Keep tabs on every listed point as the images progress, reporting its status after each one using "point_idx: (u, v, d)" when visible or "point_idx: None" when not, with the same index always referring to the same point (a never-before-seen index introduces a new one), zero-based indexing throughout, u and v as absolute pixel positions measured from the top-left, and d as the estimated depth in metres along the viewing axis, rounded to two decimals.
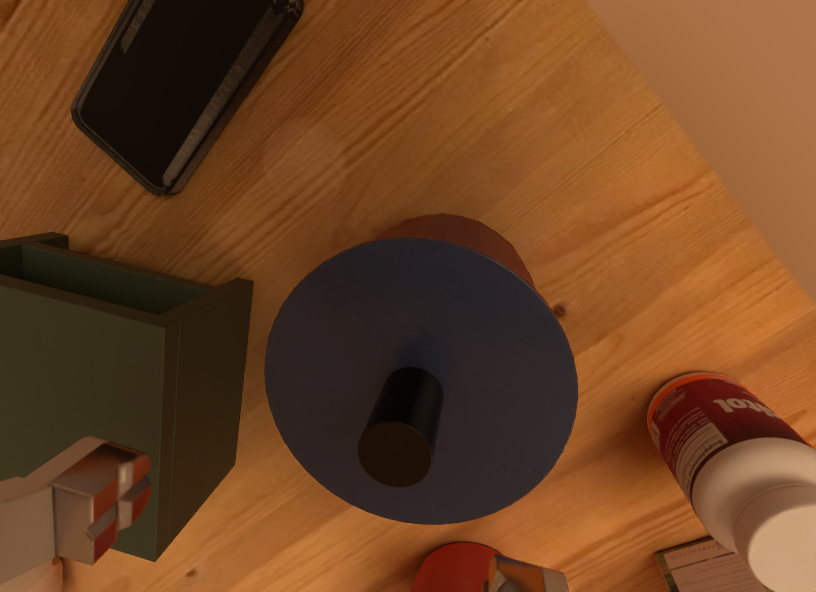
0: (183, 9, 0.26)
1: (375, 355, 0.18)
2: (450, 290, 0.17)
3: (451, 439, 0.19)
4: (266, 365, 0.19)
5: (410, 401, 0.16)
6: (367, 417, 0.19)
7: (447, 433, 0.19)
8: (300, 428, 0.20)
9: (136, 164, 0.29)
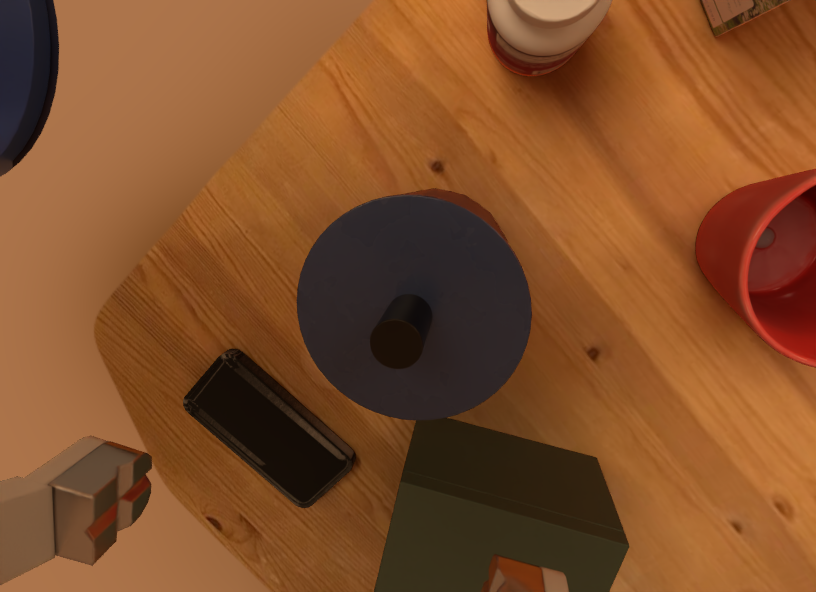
0: (239, 422, 0.41)
1: None
2: (329, 287, 0.25)
3: (446, 288, 0.24)
4: (395, 416, 0.26)
5: None
6: (431, 350, 0.25)
7: (440, 291, 0.24)
8: (445, 400, 0.26)
9: (332, 474, 0.41)
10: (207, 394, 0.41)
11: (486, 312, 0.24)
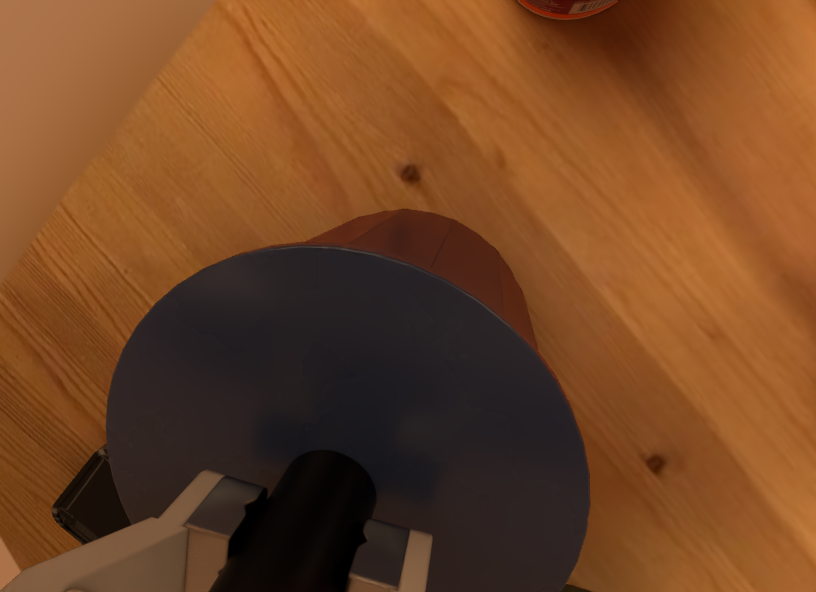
0: None
1: None
2: (165, 427, 0.12)
3: (403, 443, 0.11)
4: None
5: None
6: None
7: (392, 448, 0.11)
8: None
9: None
10: (85, 502, 0.28)
11: (490, 494, 0.11)
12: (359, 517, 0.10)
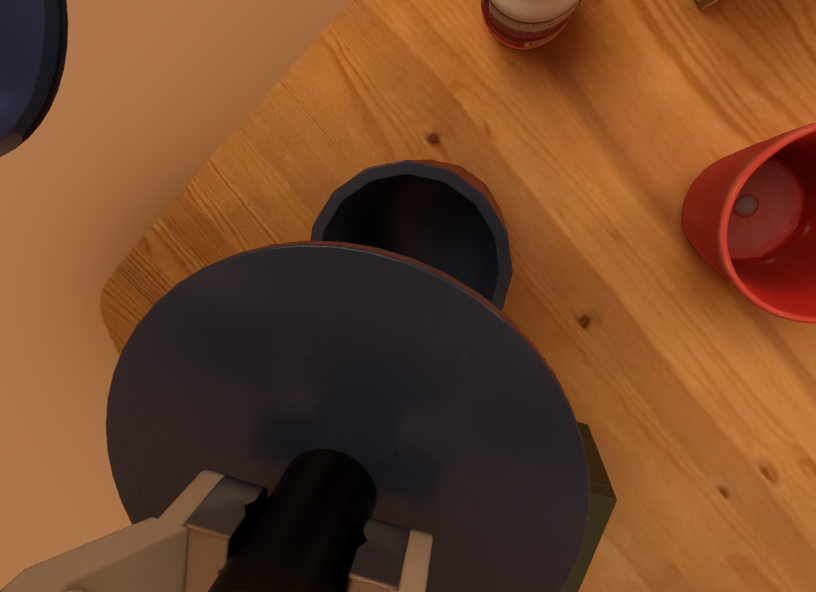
0: None
1: None
2: (165, 426, 0.12)
3: (403, 442, 0.11)
4: None
5: None
6: None
7: (392, 447, 0.11)
8: None
9: None
10: None
11: (490, 493, 0.11)
12: (359, 516, 0.10)
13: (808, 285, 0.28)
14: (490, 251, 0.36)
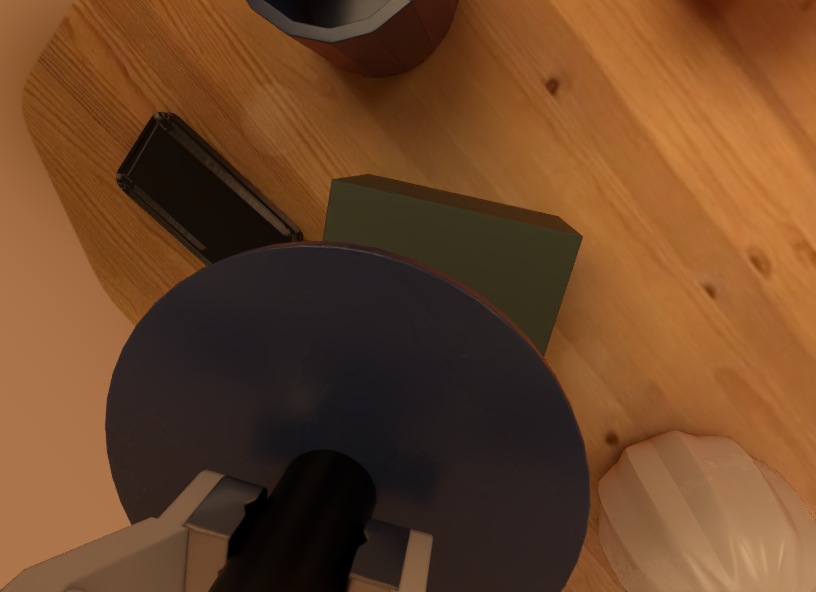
0: (176, 198, 0.38)
1: None
2: (164, 427, 0.12)
3: (403, 443, 0.11)
4: None
5: None
6: None
7: (392, 448, 0.11)
8: None
9: None
10: (142, 166, 0.38)
11: (491, 494, 0.11)
12: (359, 517, 0.10)
13: None
14: None
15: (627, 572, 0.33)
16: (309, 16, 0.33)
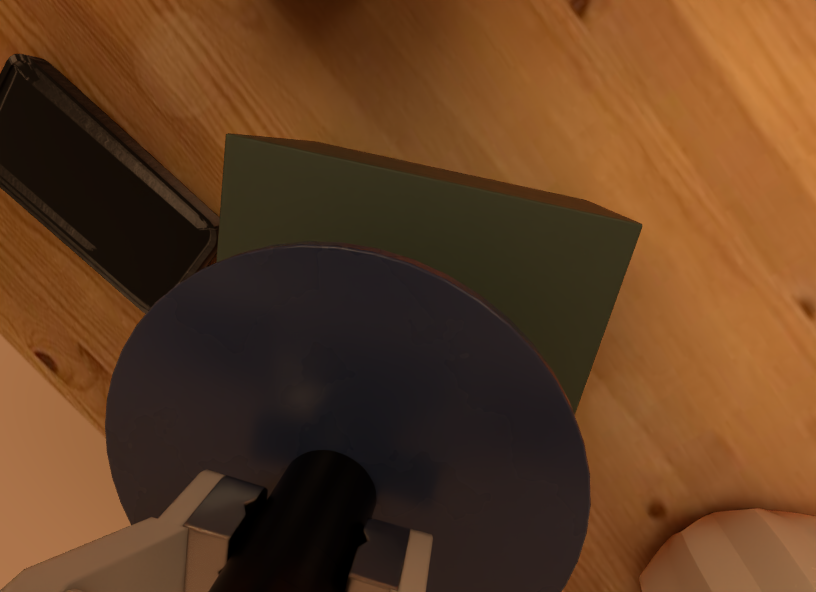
0: (51, 178, 0.28)
1: None
2: (164, 427, 0.12)
3: (403, 443, 0.11)
4: None
5: None
6: None
7: (392, 448, 0.11)
8: None
9: (190, 257, 0.28)
10: (1, 133, 0.27)
11: (491, 494, 0.11)
12: (359, 517, 0.10)
13: None
14: None
15: None
16: None
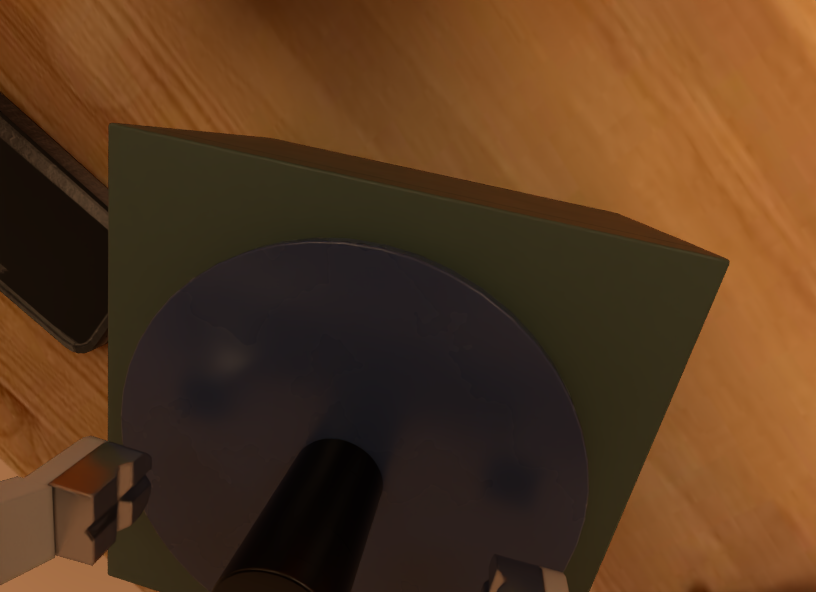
0: None
1: None
2: (178, 417, 0.12)
3: (409, 432, 0.11)
4: None
5: None
6: (383, 542, 0.12)
7: (398, 437, 0.11)
8: None
9: None
10: None
11: (493, 481, 0.11)
12: (367, 502, 0.11)
13: None
14: None
15: None
16: None
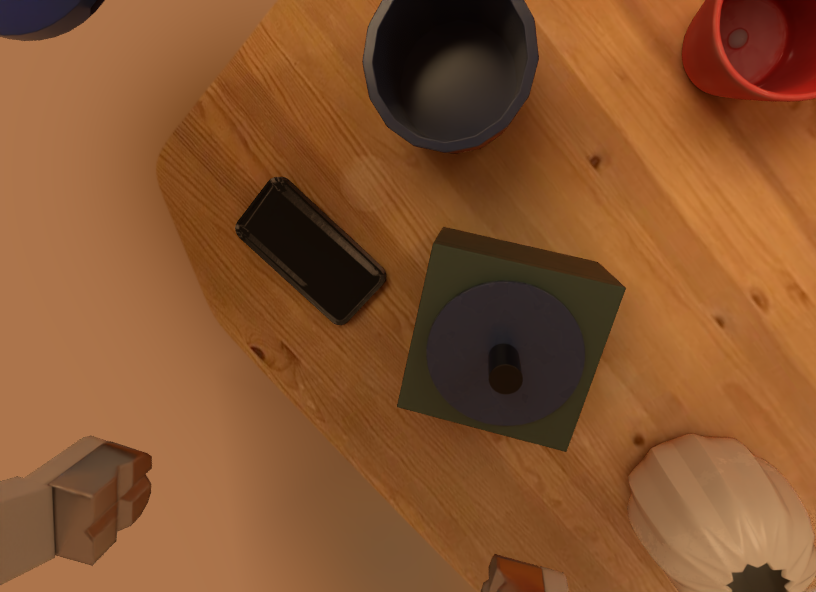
0: (284, 245, 0.47)
1: (482, 372, 0.38)
2: (449, 338, 0.38)
3: (529, 340, 0.37)
4: (489, 423, 0.39)
5: (489, 366, 0.35)
6: None
7: (525, 342, 0.37)
8: (524, 412, 0.38)
9: (366, 290, 0.47)
10: (257, 219, 0.47)
11: (555, 355, 0.37)
12: (519, 359, 0.36)
13: (790, 87, 0.33)
14: (512, 96, 0.41)
15: (655, 546, 0.41)
16: (403, 107, 0.42)
